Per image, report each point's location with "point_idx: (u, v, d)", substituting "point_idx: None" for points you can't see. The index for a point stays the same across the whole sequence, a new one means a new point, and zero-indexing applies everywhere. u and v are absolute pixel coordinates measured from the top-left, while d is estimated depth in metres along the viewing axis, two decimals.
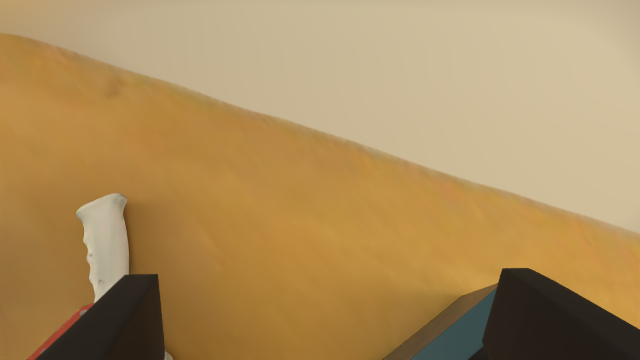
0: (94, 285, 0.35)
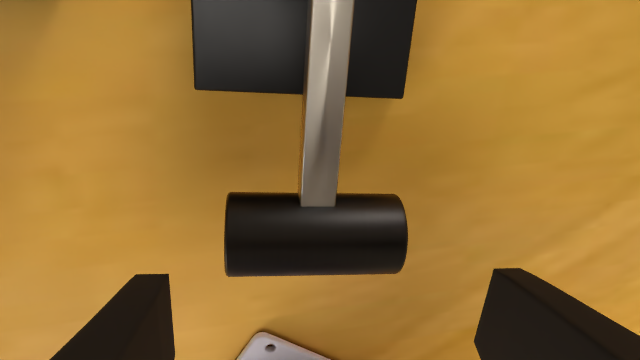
0: None
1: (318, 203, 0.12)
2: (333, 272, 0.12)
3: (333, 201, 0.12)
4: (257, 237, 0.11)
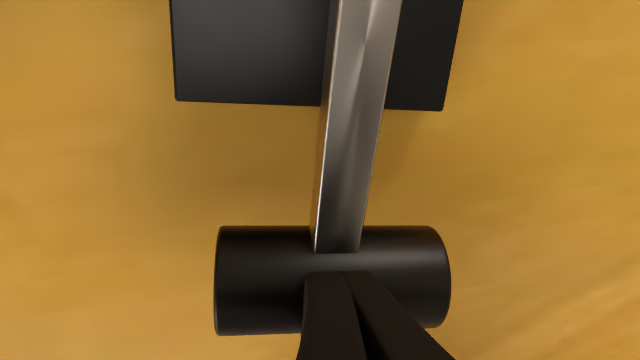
0: None
1: (336, 249, 0.09)
2: None
3: (356, 247, 0.09)
4: (257, 298, 0.09)
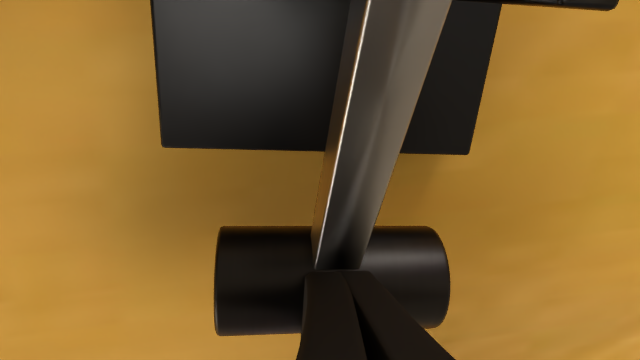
0: None
1: (337, 265, 0.09)
2: None
3: (358, 264, 0.09)
4: (256, 313, 0.09)
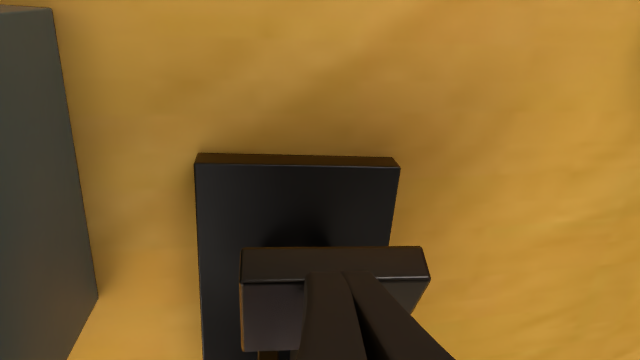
0: None
1: None
2: None
3: None
4: None
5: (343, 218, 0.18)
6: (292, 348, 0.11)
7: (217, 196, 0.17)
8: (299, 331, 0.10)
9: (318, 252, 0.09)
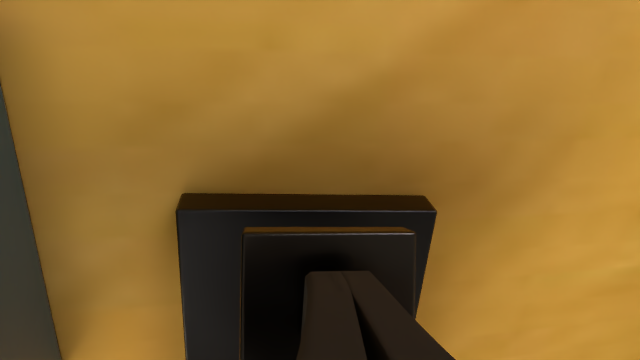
0: None
1: None
2: None
3: None
4: None
5: None
6: None
7: (206, 249, 0.13)
8: None
9: (312, 227, 0.10)
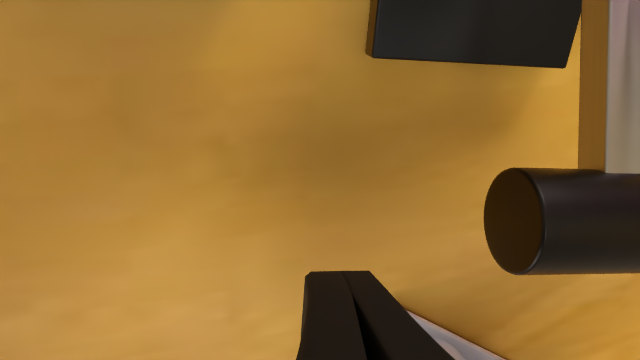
0: None
1: (623, 172, 0.10)
2: None
3: None
4: (579, 201, 0.09)
5: None
6: None
7: None
8: None
9: None
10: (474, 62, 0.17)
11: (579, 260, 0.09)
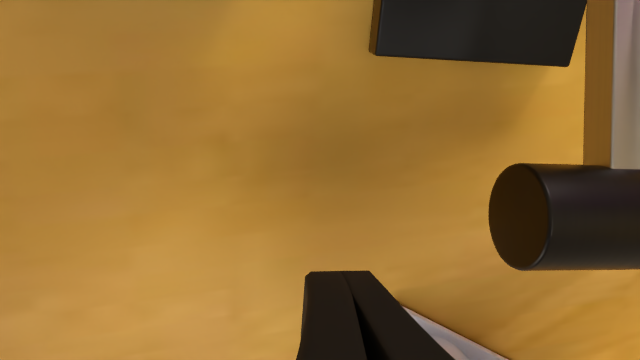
0: None
1: (629, 168, 0.10)
2: None
3: None
4: (585, 196, 0.09)
5: None
6: None
7: None
8: None
9: None
10: (477, 60, 0.17)
11: (585, 255, 0.09)
